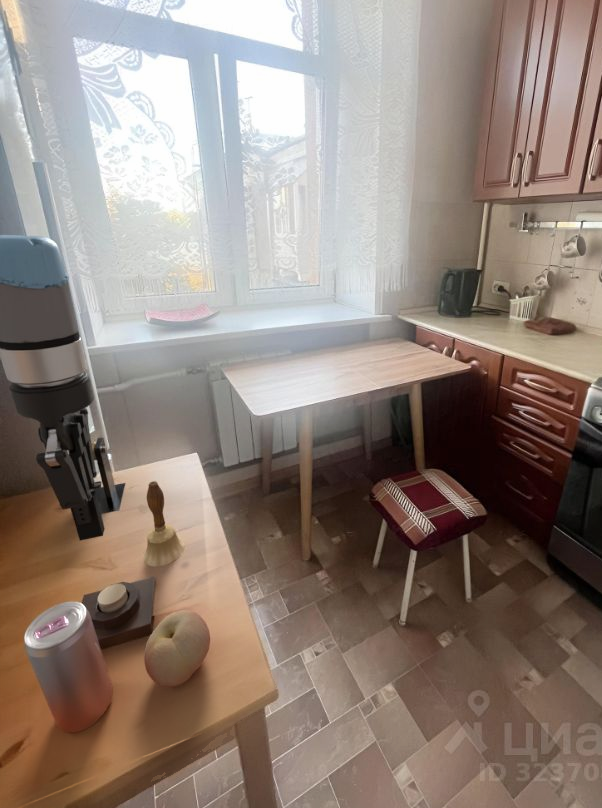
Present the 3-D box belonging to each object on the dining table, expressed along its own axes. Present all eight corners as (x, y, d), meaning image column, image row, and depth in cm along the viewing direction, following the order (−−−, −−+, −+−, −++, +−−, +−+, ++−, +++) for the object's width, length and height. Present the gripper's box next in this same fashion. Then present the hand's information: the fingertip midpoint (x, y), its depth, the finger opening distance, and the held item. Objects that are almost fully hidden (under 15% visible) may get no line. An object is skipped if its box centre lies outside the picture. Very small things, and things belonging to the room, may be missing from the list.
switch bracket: (120, 515, 81) (105, 453, 76) (74, 524, 78) (55, 461, 73) (126, 487, 90) (113, 430, 84) (85, 494, 87) (69, 435, 81)
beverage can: (52, 706, 49) (18, 622, 44) (106, 671, 53) (81, 590, 48) (62, 748, 45) (25, 662, 40) (120, 708, 49) (94, 624, 44)
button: (97, 616, 57) (95, 607, 56) (102, 596, 60) (99, 587, 59) (126, 608, 58) (124, 599, 57) (129, 589, 61) (127, 580, 60)
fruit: (142, 662, 54) (132, 621, 51) (201, 628, 59) (194, 589, 56) (158, 713, 49) (148, 671, 46) (221, 671, 54) (215, 630, 51)
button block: (72, 659, 54) (65, 639, 53) (86, 604, 62) (80, 586, 61) (152, 634, 58) (148, 615, 57) (156, 586, 66) (153, 568, 64)
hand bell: (184, 533, 77) (172, 464, 71) (194, 561, 71) (182, 488, 65) (136, 550, 73) (120, 478, 67) (142, 582, 66) (125, 505, 60)
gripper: (29, 361, 50) (71, 510, 59) (-16, 402, 39) (45, 578, 48) (98, 357, 53) (129, 500, 62) (74, 394, 42) (116, 562, 50)
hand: (92, 534), depth 55 cm, fingers closed
